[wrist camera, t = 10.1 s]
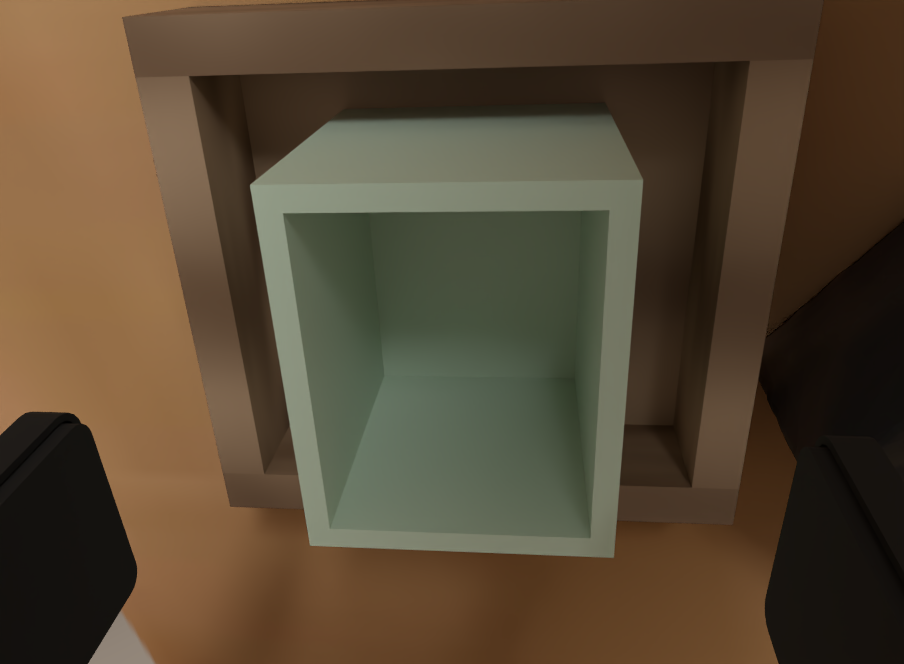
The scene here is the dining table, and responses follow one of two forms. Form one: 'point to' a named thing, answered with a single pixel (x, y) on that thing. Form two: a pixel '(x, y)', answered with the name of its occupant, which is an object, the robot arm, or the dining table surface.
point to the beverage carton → (844, 358)
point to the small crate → (456, 324)
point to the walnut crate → (499, 83)
